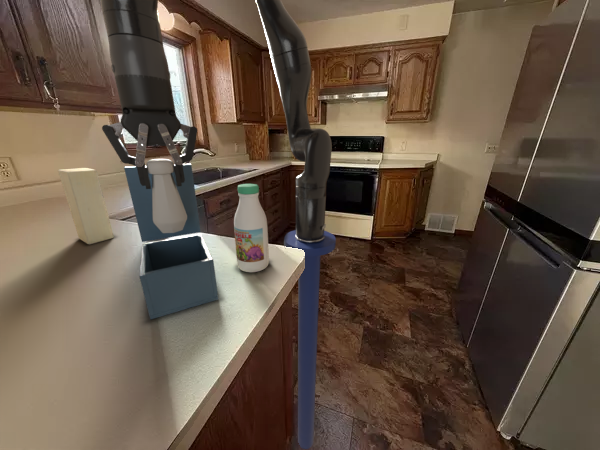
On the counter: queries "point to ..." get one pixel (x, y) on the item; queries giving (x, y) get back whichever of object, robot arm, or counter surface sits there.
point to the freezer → (177, 275)
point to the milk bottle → (250, 230)
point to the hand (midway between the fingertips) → (164, 186)
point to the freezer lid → (145, 204)
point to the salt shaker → (166, 197)
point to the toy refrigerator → (86, 204)
